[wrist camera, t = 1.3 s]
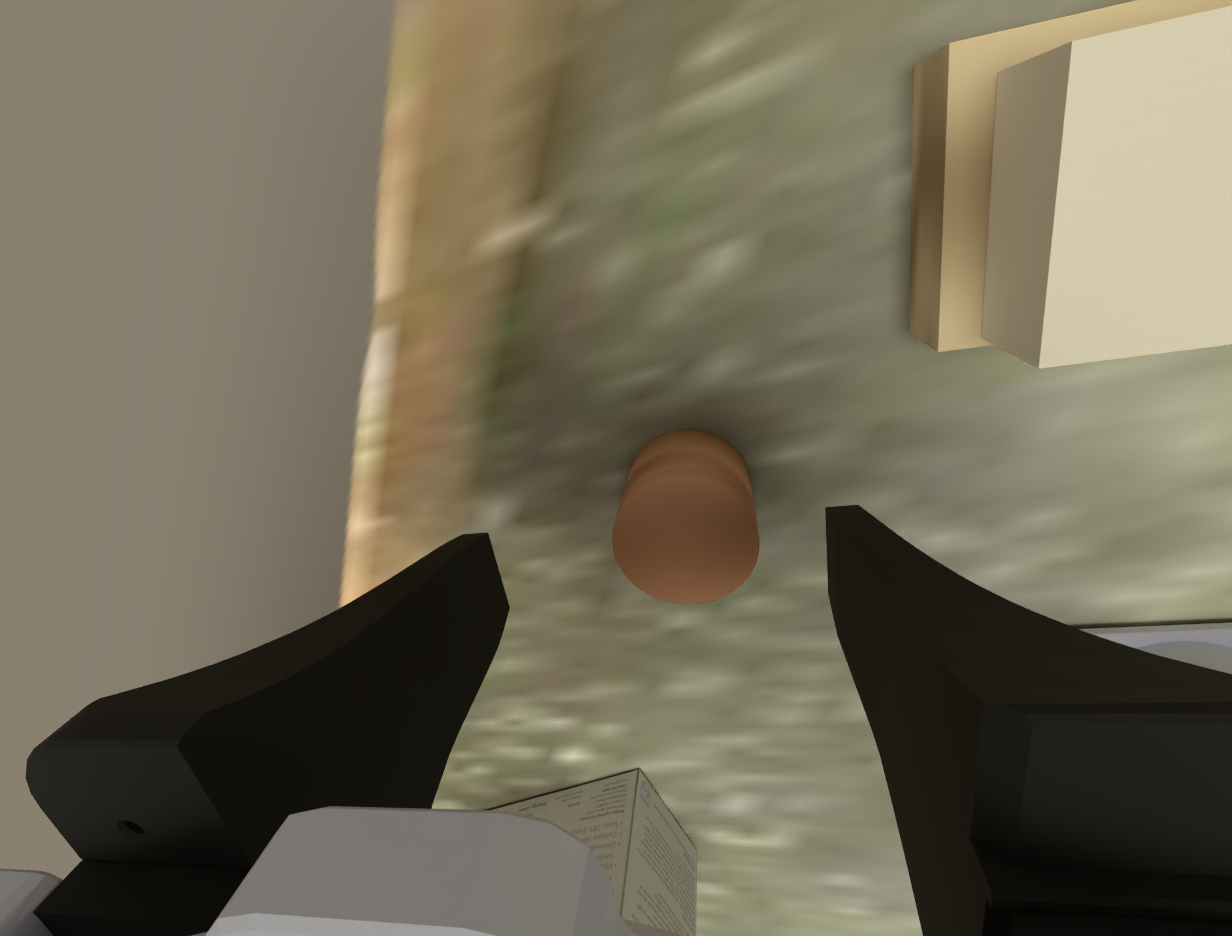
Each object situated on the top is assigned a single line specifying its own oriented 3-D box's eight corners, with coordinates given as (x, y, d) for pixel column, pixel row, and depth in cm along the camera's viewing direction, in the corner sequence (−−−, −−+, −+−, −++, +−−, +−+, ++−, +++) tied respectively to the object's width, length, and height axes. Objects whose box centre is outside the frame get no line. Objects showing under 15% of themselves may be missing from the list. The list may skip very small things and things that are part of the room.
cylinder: (756, 533, 22) (764, 600, 18) (638, 542, 23) (625, 608, 19) (745, 422, 20) (752, 471, 17) (619, 437, 21) (600, 486, 17)
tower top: (1252, 300, 14) (1378, 325, 12) (981, 338, 16) (1039, 368, 13) (1324, 0, 12) (1503, -56, 9) (997, 72, 13) (1072, 41, 11)
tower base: (1164, 292, 17) (1249, 311, 14) (905, 329, 19) (938, 352, 16) (1218, -1, 14) (1335, -45, 12) (908, 68, 16) (949, 43, 13)
